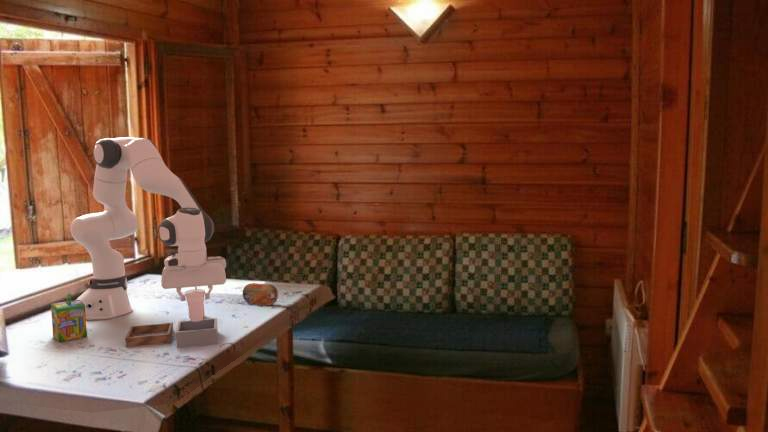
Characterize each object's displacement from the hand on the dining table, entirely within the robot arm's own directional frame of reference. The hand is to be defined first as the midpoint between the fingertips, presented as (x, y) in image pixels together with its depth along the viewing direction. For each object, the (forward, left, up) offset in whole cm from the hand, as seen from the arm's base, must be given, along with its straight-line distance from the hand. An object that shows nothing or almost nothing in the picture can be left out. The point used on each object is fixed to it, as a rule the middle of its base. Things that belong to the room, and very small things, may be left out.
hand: (195, 299), depth 215 cm
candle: (-2, +28, -14) cm, 31 cm away
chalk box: (-43, +17, -14) cm, 48 cm away
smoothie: (0, 0, -7) cm, 7 cm away
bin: (0, 0, -14) cm, 14 cm away
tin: (+22, +39, -14) cm, 47 cm away
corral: (-16, +6, -14) cm, 21 cm away
